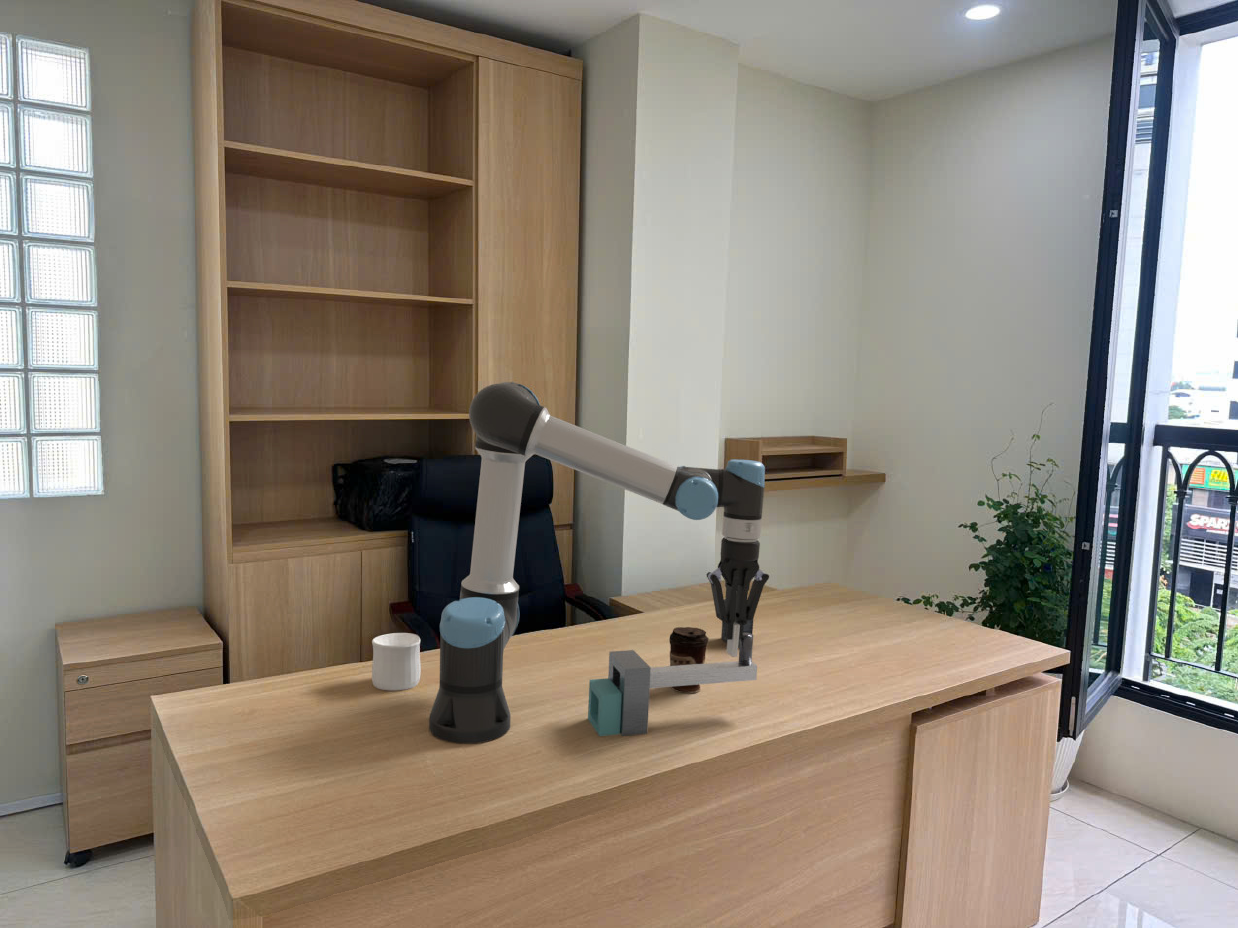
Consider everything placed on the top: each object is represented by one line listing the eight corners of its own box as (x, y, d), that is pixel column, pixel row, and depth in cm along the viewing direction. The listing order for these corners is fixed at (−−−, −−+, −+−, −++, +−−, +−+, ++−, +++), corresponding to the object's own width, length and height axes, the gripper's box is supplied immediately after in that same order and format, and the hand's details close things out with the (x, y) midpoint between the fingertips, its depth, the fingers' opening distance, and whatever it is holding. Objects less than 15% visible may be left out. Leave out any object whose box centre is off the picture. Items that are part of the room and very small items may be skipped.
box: (752, 647, 216) (754, 606, 215) (730, 648, 214) (733, 607, 213) (741, 637, 223) (743, 598, 222) (720, 638, 222) (722, 598, 221)
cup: (429, 684, 182) (430, 639, 181) (388, 696, 174) (388, 649, 173) (404, 672, 188) (405, 629, 187) (363, 683, 181) (363, 638, 180)
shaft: (633, 689, 164) (636, 644, 163) (629, 683, 167) (631, 639, 166) (756, 680, 172) (759, 636, 171) (749, 674, 175) (752, 632, 174)
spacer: (599, 736, 160) (601, 695, 159) (587, 719, 168) (589, 679, 167) (619, 734, 161) (621, 693, 160) (607, 717, 169) (609, 678, 168)
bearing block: (622, 736, 160) (625, 669, 159) (606, 715, 170) (609, 651, 168) (647, 733, 162) (650, 667, 160) (630, 713, 171) (633, 650, 170)
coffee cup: (693, 699, 180) (696, 639, 178) (659, 690, 184) (662, 631, 183) (711, 687, 187) (715, 629, 186) (678, 678, 192) (681, 622, 190)
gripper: (719, 542, 163) (710, 662, 165) (778, 542, 167) (769, 659, 169) (703, 534, 170) (695, 649, 173) (760, 534, 174) (752, 647, 176)
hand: (732, 654), depth 171 cm, fingers closed
